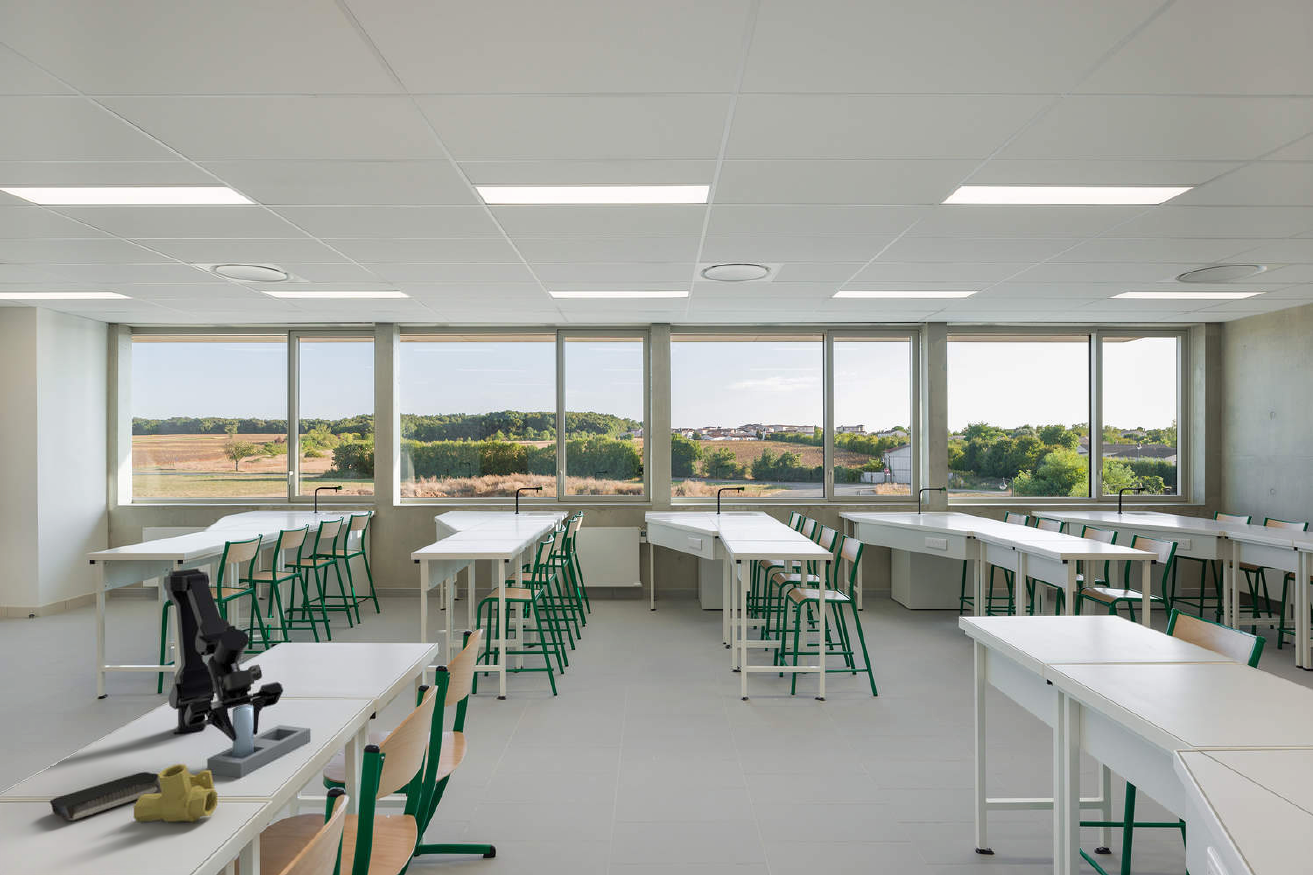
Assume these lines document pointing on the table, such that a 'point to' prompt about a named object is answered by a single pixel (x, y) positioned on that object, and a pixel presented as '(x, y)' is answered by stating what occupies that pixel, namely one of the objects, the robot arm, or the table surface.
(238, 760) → the panel
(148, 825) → the table surface
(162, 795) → the ball valve
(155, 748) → the table surface
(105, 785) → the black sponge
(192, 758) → the table surface
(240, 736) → the plug
